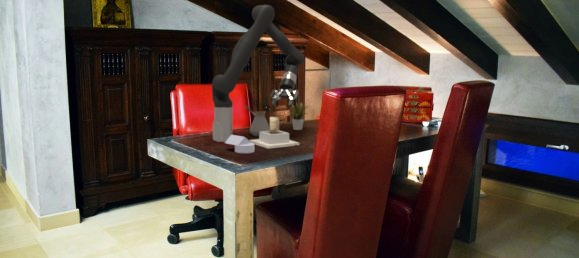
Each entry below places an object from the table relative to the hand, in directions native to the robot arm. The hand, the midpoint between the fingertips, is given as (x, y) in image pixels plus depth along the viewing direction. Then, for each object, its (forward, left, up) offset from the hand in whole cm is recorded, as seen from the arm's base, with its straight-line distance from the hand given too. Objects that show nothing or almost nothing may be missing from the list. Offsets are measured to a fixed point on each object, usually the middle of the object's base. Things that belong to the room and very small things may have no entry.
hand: (281, 106), depth 254 cm
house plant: (+28, +24, -18) cm, 41 cm away
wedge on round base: (-30, -14, -18) cm, 38 cm away
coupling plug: (-8, -7, -16) cm, 20 cm away
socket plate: (-8, -7, -18) cm, 21 cm away
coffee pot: (-2, +23, -18) cm, 29 cm away
